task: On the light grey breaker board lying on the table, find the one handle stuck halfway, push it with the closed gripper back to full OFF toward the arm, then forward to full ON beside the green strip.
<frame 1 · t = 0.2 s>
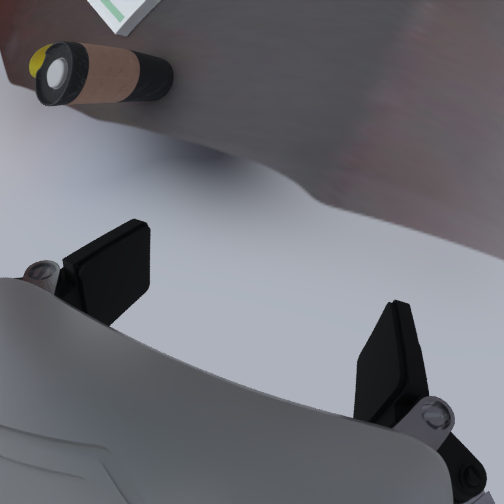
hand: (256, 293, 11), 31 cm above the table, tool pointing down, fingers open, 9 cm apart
travel mug: (154, 79, 39), on the table
lemon: (64, 62, 41), on the table
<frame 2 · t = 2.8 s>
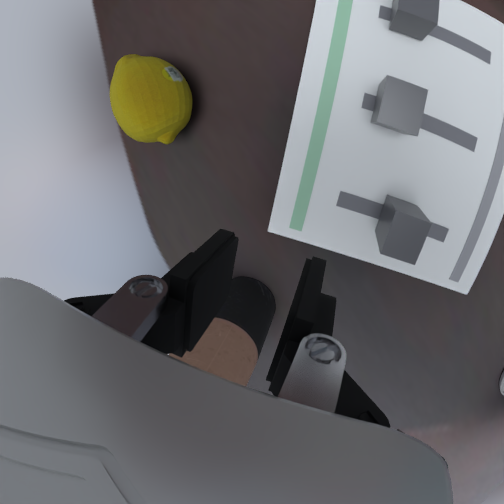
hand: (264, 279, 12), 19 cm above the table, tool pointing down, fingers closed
breaker panel: (415, 121, 23), on the table
breaker 2: (397, 107, 18), point 6 cm above the table, slide at 6.0 cm
breaker 1: (413, 9, 14), point 6 cm above the table, slide at 6.0 cm
travel mug: (248, 301, 37), on the table
lemon: (172, 98, 29), on the table
breaker 3: (400, 227, 22), point 6 cm above the table, slide at 3.0 cm
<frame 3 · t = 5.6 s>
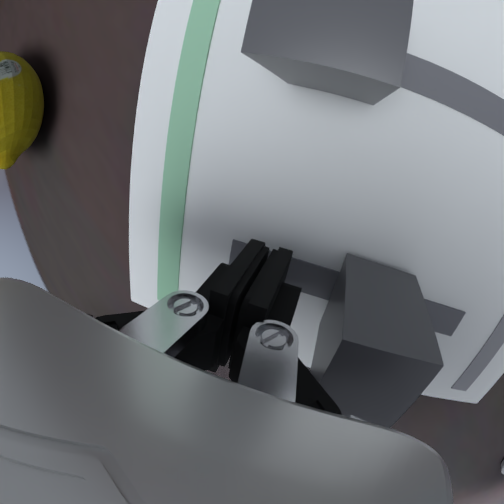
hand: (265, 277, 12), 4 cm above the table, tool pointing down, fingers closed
breaker panel: (404, 86, 10), on the table
breaker 2: (338, 26, 6), point 6 cm above the table, slide at 6.0 cm
lemon: (35, 99, 16), on the table
breaker 3: (368, 340, 9), point 6 cm above the table, slide at 2.4 cm, touching gripper
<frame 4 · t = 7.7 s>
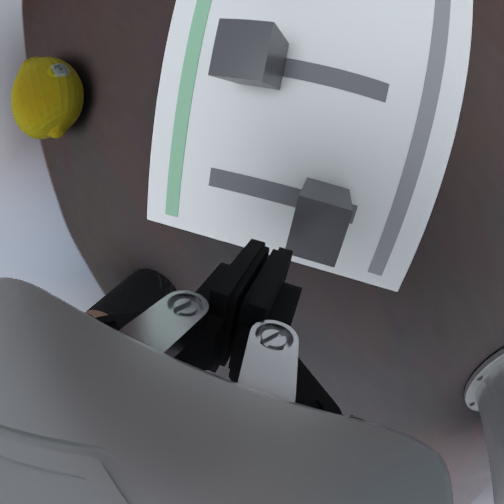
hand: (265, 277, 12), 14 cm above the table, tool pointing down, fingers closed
breaker panel: (310, 77, 20), on the table
breaker 2: (252, 56, 15), point 6 cm above the table, slide at 6.0 cm
travel mug: (154, 294, 33), on the table
lemon: (73, 92, 25), on the table
breaker 3: (320, 218, 18), point 6 cm above the table, slide at -0.1 cm
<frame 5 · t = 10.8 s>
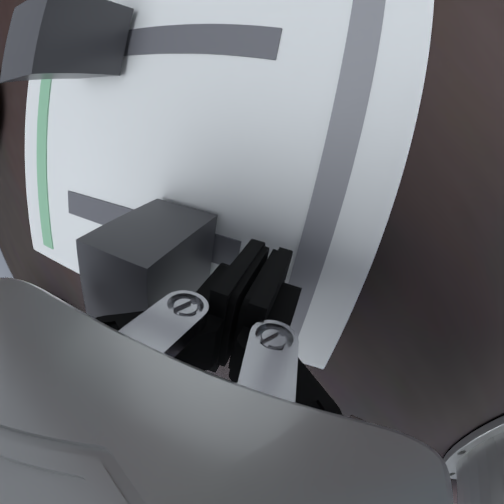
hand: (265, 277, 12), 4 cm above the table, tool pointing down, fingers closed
breaker panel: (189, 51, 13), on the table
breaker 2: (66, 39, 8), point 6 cm above the table, slide at 6.0 cm
breaker 3: (151, 266, 11), point 6 cm above the table, slide at 0.1 cm, touching gripper
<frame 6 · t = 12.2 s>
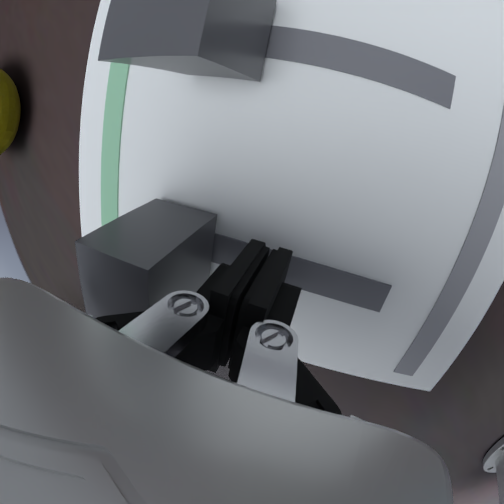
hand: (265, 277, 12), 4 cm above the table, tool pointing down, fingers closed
breaker panel: (317, 63, 11), on the table
breaker 2: (200, 18, 7), point 6 cm above the table, slide at 6.0 cm
lemon: (15, 104, 17), on the table
breaker 3: (151, 267, 11), point 6 cm above the table, slide at 6.8 cm, touching gripper
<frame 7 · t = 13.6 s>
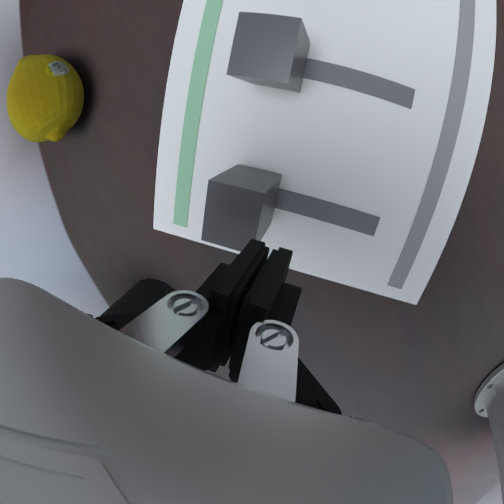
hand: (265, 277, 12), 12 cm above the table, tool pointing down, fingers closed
breaker panel: (330, 79, 18), on the table
breaker 2: (273, 55, 13), point 6 cm above the table, slide at 6.0 cm
travel mug: (160, 305, 32), on the table
lemon: (73, 92, 24), on the table
breaker 3: (244, 204, 18), point 6 cm above the table, slide at 6.1 cm
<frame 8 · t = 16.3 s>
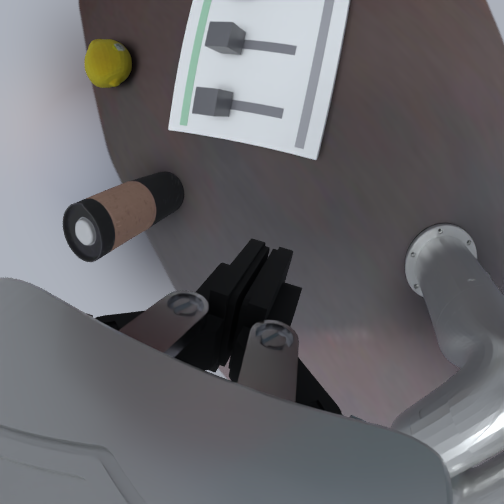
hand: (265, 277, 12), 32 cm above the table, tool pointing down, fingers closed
breaker panel: (261, 50, 35), on the table
breaker 2: (226, 38, 30), point 6 cm above the table, slide at 6.0 cm
travel mug: (166, 191, 49), on the table
lemon: (123, 64, 41), on the table
breaker 3: (213, 102, 34), point 6 cm above the table, slide at 6.1 cm
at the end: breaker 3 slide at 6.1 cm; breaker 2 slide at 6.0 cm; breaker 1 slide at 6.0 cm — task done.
